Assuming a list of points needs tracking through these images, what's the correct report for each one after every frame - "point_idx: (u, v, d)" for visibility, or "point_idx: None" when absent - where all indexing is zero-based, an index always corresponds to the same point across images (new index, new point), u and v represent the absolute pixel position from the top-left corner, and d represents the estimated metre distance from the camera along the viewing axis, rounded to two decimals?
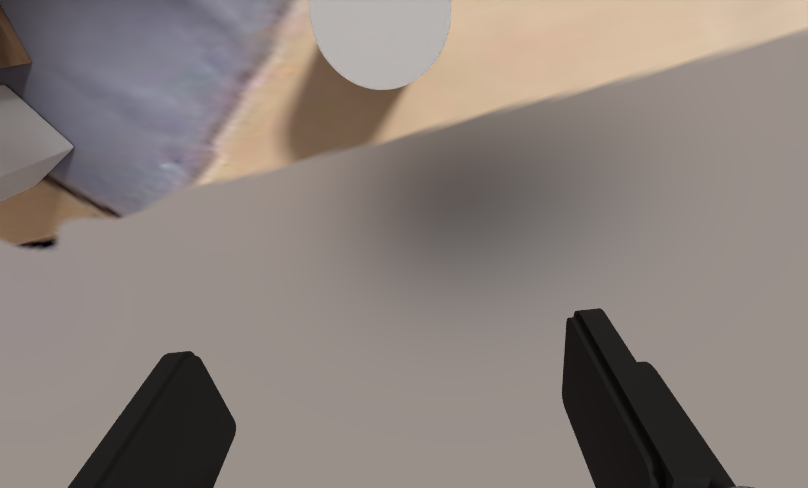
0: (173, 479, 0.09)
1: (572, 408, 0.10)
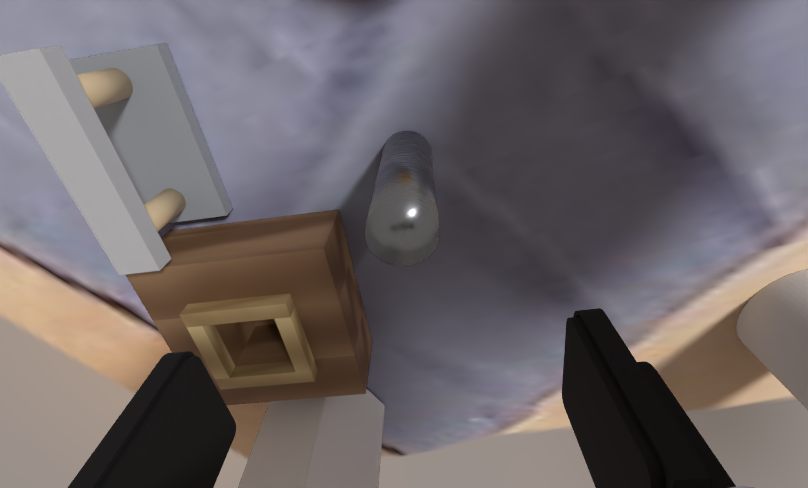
0: (173, 479, 0.09)
1: (572, 408, 0.10)
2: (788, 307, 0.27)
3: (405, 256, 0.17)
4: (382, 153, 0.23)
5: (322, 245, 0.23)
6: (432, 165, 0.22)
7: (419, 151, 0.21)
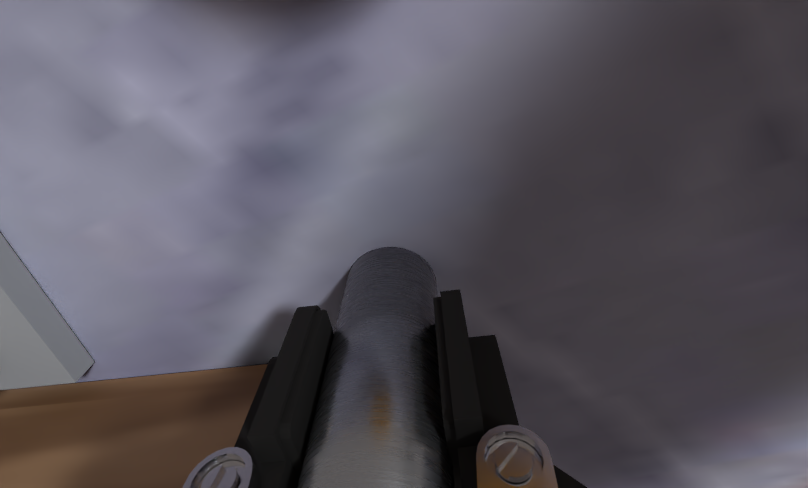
0: None
1: None
2: None
3: None
4: (343, 298, 0.12)
5: None
6: None
7: (413, 322, 0.10)
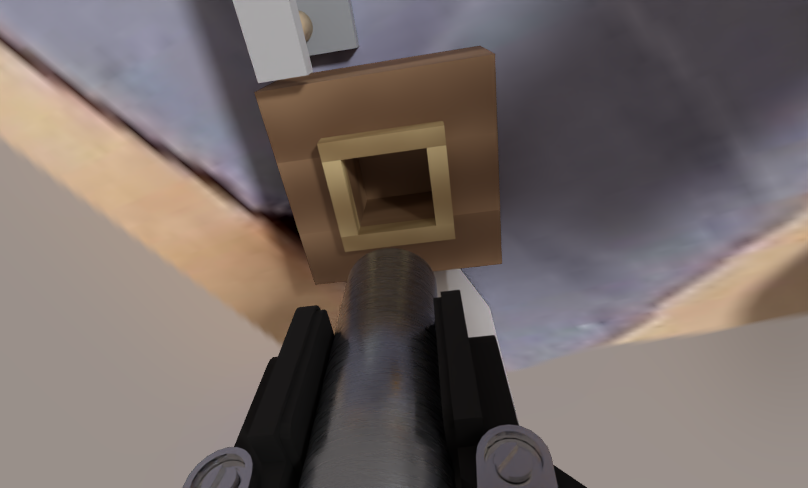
0: None
1: None
2: None
3: None
4: (343, 299, 0.12)
5: (489, 53, 0.20)
6: None
7: (414, 323, 0.10)
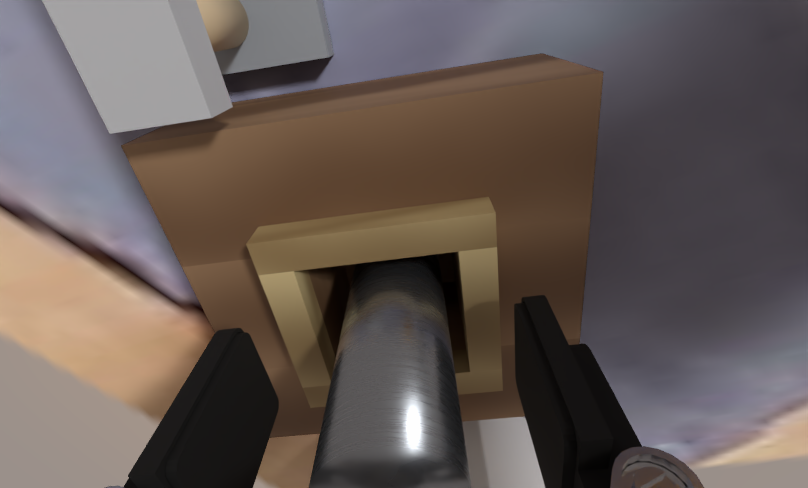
0: (232, 445, 0.09)
1: (521, 389, 0.10)
2: None
3: None
4: None
5: (588, 71, 0.10)
6: (440, 272, 0.13)
7: None
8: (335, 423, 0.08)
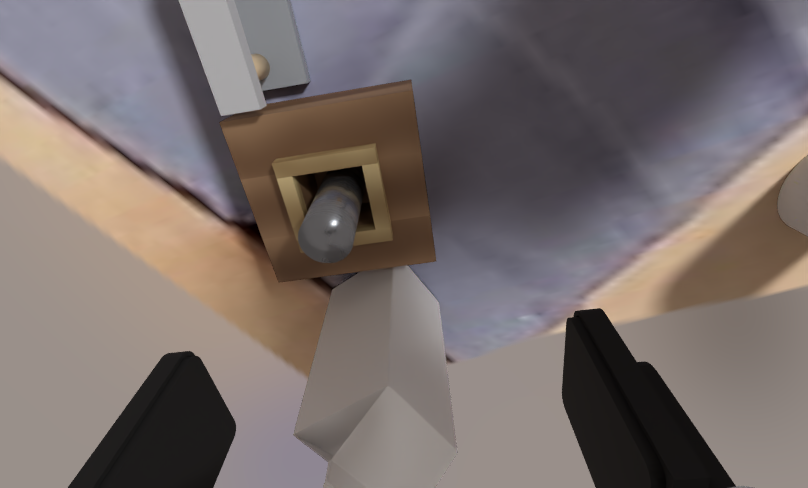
0: (173, 479, 0.09)
1: (572, 408, 0.10)
2: None
3: (330, 256, 0.22)
4: None
5: (409, 89, 0.24)
6: (362, 185, 0.28)
7: (350, 175, 0.27)
8: (307, 216, 0.22)
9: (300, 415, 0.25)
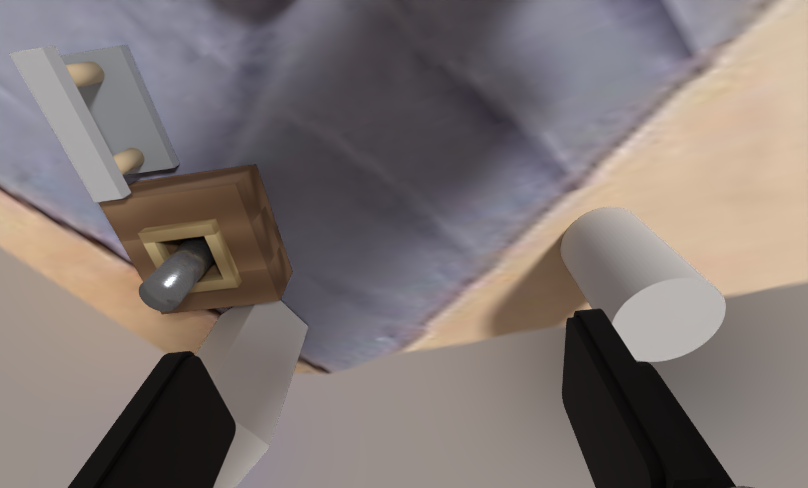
0: (173, 479, 0.09)
1: (572, 408, 0.10)
2: (580, 234, 0.38)
3: (164, 307, 0.31)
4: None
5: (235, 182, 0.33)
6: None
7: (203, 239, 0.36)
8: (147, 278, 0.31)
9: None
